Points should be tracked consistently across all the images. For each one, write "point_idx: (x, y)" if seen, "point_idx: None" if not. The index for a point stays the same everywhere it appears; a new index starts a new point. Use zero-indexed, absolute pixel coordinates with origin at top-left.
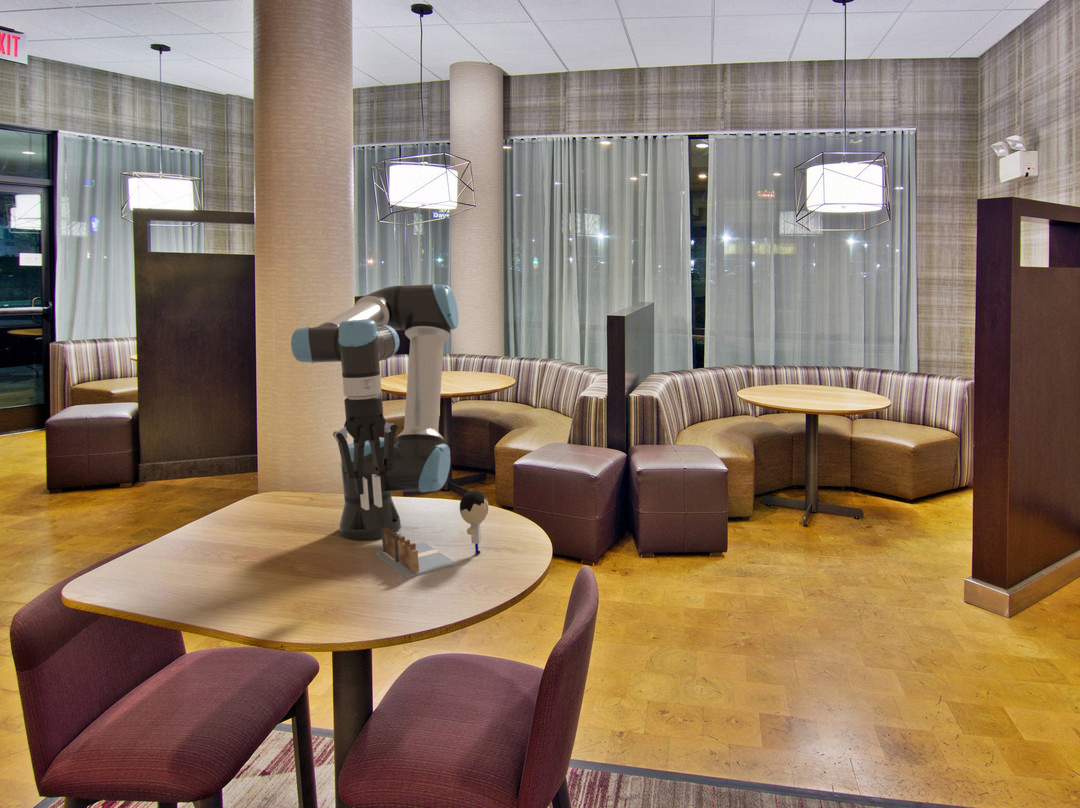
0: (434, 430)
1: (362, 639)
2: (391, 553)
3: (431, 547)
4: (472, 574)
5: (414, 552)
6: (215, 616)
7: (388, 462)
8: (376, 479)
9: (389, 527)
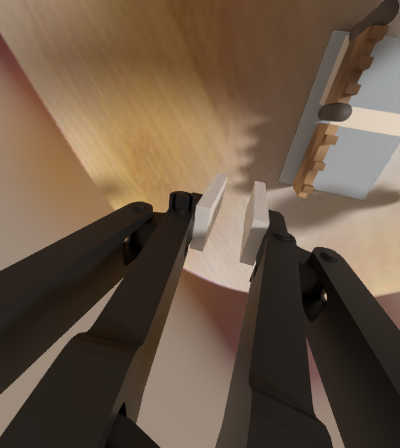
0: None
1: None
2: (335, 81)
3: None
4: (339, 239)
5: (299, 196)
6: (59, 92)
7: (304, 319)
8: (241, 253)
9: None
